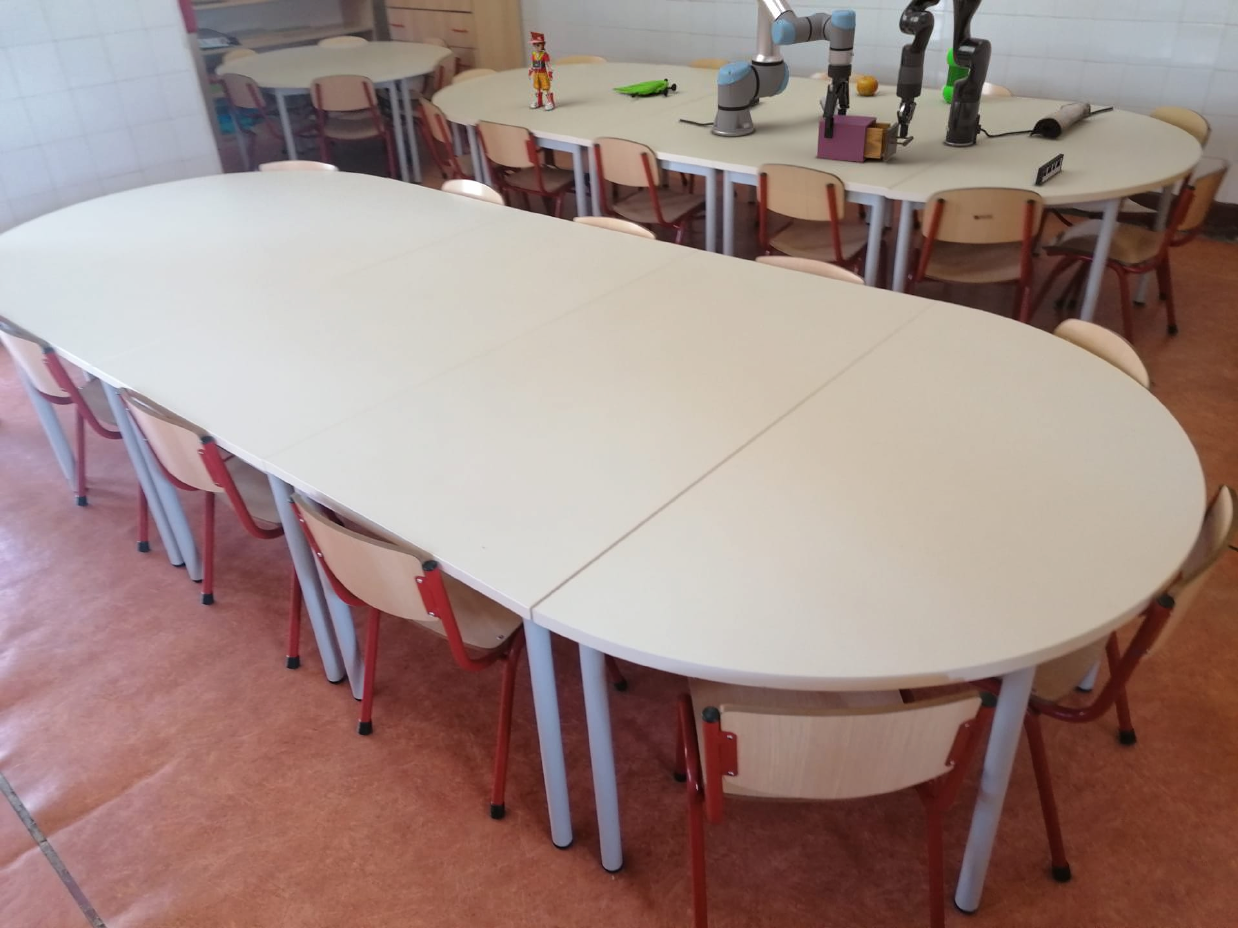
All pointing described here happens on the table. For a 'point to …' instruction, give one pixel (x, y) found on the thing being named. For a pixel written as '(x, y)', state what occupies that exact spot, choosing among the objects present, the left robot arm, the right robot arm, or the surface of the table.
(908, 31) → the right robot arm
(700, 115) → the table surface
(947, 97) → the green dumbbell
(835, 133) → the cabinet
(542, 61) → the toy
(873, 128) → the drawer
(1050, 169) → the midi keyboard
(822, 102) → the anatomical model
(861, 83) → the fruit
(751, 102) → the disk drive
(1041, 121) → the rolled mat
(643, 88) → the toy
